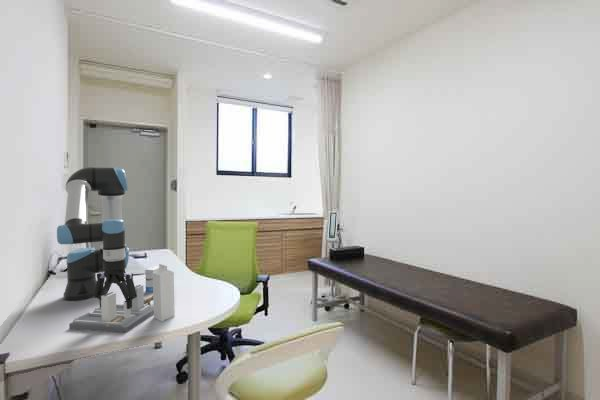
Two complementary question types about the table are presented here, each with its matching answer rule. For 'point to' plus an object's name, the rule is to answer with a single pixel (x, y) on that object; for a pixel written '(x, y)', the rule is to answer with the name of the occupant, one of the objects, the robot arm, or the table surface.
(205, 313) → the table surface
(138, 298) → the fader
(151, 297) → the figurine
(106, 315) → the block
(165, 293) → the milk
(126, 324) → the grey flat tray
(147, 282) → the ink box
